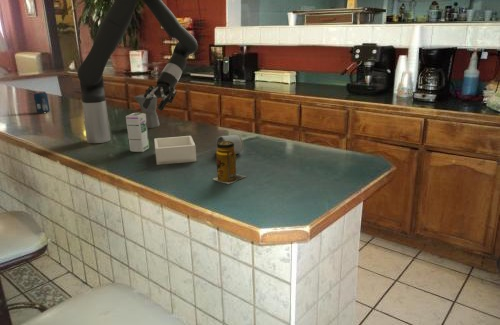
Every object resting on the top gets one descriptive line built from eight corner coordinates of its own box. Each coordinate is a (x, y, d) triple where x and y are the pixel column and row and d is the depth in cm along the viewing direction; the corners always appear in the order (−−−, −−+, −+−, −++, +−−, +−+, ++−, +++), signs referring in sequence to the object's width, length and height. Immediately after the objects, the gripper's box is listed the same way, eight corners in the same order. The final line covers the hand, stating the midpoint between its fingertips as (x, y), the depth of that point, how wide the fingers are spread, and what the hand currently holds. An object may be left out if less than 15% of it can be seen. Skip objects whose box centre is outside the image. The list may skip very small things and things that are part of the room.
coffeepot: (138, 129, 190) (134, 91, 184) (135, 125, 198) (131, 89, 192) (170, 126, 196) (167, 89, 190) (166, 122, 204) (163, 87, 198)
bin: (156, 164, 140) (155, 148, 138) (155, 153, 153) (154, 138, 151) (196, 161, 143) (195, 145, 141) (191, 150, 156) (191, 135, 154)
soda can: (42, 111, 235) (38, 91, 231) (52, 111, 234) (49, 91, 230) (34, 113, 228) (30, 93, 225) (45, 114, 228) (41, 93, 224)
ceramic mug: (244, 154, 150) (244, 135, 148) (226, 158, 146) (225, 138, 143) (229, 148, 158) (228, 130, 156) (211, 152, 154) (210, 133, 151)
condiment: (211, 179, 126) (210, 143, 122) (229, 172, 132) (228, 137, 128) (228, 184, 121) (227, 147, 118) (246, 177, 128) (245, 141, 124)
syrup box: (143, 152, 155) (139, 115, 150) (129, 151, 156) (125, 115, 151) (149, 148, 160) (146, 112, 155) (136, 147, 161) (132, 112, 156)
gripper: (152, 70, 166) (134, 101, 160) (177, 71, 158) (159, 104, 153) (162, 81, 172) (145, 112, 166) (187, 83, 164) (169, 115, 159)
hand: (151, 108), depth 160 cm, fingers open, 8 cm apart
